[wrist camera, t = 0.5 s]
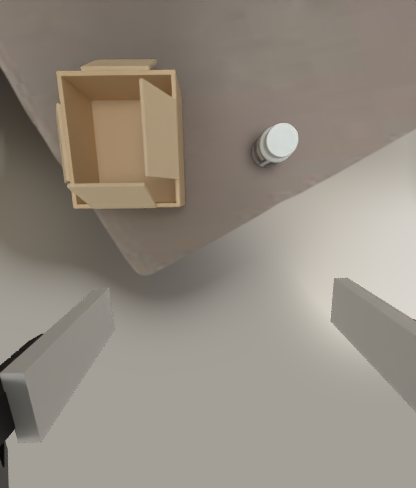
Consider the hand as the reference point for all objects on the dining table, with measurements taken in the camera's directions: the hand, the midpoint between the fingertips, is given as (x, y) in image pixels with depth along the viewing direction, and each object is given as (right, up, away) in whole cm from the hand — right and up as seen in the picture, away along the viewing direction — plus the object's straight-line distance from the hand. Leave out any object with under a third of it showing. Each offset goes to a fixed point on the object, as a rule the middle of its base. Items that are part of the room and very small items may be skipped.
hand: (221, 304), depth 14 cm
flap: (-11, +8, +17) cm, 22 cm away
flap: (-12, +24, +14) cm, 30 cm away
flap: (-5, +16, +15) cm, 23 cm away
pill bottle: (+8, +18, +24) cm, 31 cm away
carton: (-12, +18, +24) cm, 32 cm away
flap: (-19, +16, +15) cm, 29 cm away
